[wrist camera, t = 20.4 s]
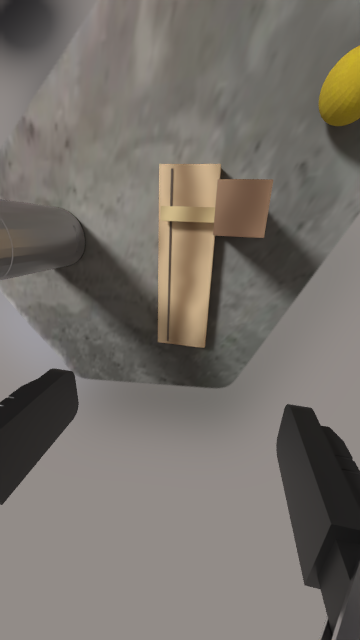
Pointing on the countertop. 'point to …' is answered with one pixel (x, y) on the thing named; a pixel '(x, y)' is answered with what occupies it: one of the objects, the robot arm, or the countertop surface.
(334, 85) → the lemon
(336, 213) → the countertop surface
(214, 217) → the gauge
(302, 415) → the robot arm
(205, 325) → the board
